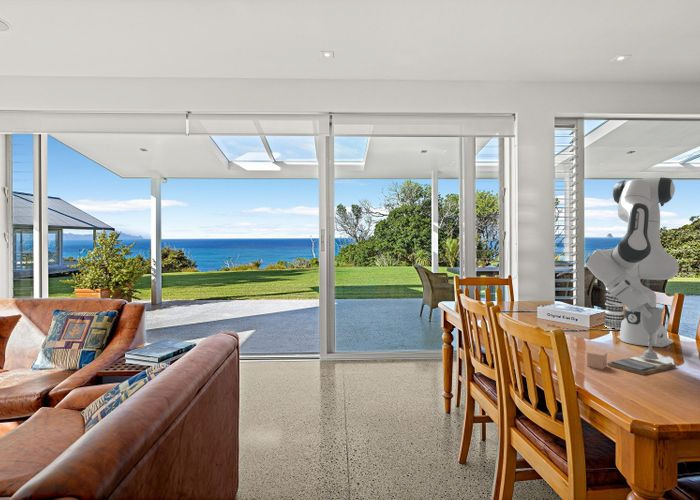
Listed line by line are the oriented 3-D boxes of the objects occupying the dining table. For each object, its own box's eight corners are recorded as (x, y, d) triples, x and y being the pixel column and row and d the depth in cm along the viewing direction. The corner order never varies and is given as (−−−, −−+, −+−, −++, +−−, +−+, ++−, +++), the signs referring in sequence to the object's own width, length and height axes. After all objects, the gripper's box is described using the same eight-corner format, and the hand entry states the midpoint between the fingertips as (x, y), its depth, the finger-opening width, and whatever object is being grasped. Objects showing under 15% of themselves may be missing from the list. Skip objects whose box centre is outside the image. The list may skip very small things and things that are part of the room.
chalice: (658, 356, 155) (659, 307, 155) (665, 361, 149) (666, 309, 149) (635, 354, 158) (636, 306, 158) (641, 358, 151) (642, 308, 151)
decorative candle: (608, 329, 214) (609, 279, 213) (600, 325, 223) (601, 278, 223) (627, 330, 213) (629, 280, 212) (619, 326, 222) (620, 278, 221)
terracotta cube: (590, 363, 155) (591, 350, 155) (606, 366, 151) (606, 352, 151) (587, 366, 151) (587, 352, 151) (602, 369, 148) (603, 355, 148)
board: (639, 358, 162) (639, 354, 161) (675, 367, 151) (675, 362, 151) (607, 365, 152) (607, 360, 152) (643, 375, 142) (643, 370, 142)
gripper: (622, 289, 168) (651, 317, 162) (608, 293, 154) (639, 324, 147) (636, 279, 165) (666, 307, 159) (623, 282, 151) (655, 313, 144)
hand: (653, 316), depth 153 cm, fingers closed on chalice, 6 cm apart
